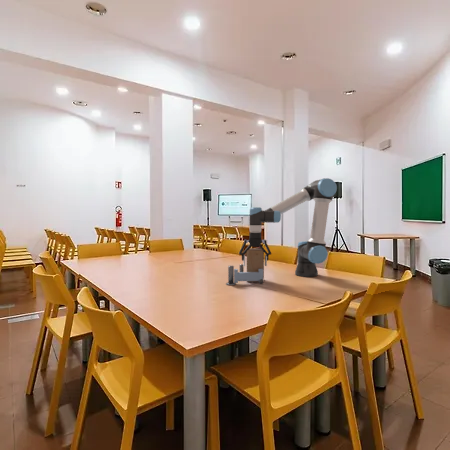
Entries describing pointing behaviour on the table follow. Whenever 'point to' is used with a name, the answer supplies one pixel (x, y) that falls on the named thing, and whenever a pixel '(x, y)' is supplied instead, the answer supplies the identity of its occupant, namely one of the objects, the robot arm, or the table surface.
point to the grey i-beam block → (248, 276)
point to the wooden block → (255, 261)
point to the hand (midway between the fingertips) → (255, 265)
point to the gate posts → (231, 274)
